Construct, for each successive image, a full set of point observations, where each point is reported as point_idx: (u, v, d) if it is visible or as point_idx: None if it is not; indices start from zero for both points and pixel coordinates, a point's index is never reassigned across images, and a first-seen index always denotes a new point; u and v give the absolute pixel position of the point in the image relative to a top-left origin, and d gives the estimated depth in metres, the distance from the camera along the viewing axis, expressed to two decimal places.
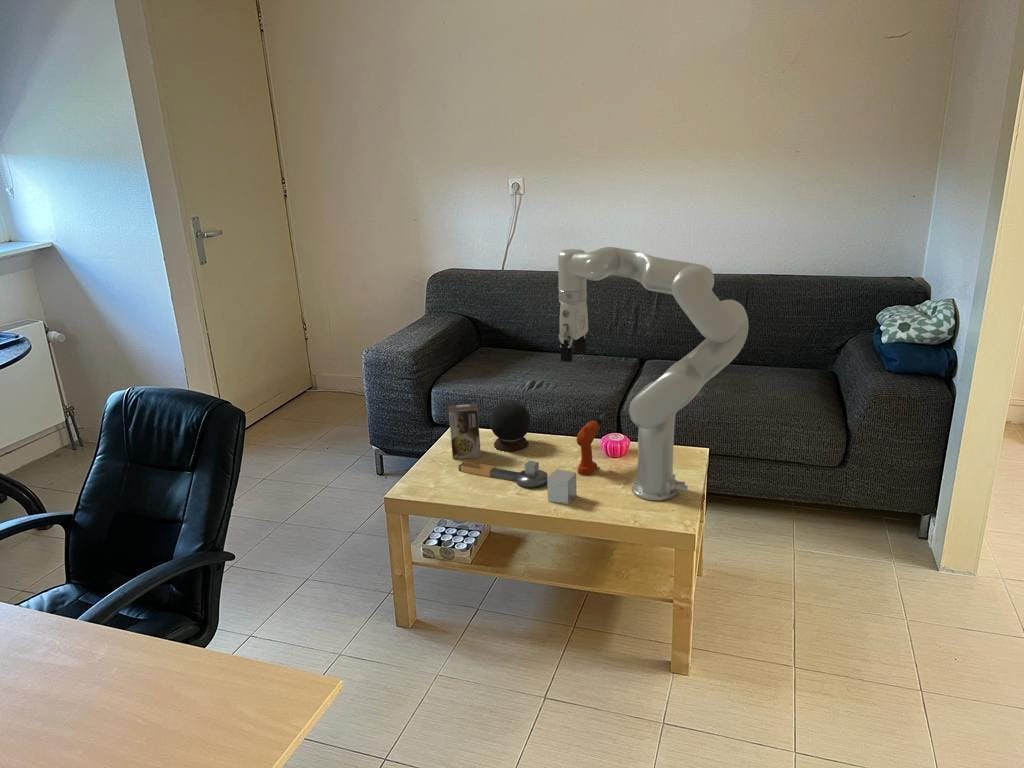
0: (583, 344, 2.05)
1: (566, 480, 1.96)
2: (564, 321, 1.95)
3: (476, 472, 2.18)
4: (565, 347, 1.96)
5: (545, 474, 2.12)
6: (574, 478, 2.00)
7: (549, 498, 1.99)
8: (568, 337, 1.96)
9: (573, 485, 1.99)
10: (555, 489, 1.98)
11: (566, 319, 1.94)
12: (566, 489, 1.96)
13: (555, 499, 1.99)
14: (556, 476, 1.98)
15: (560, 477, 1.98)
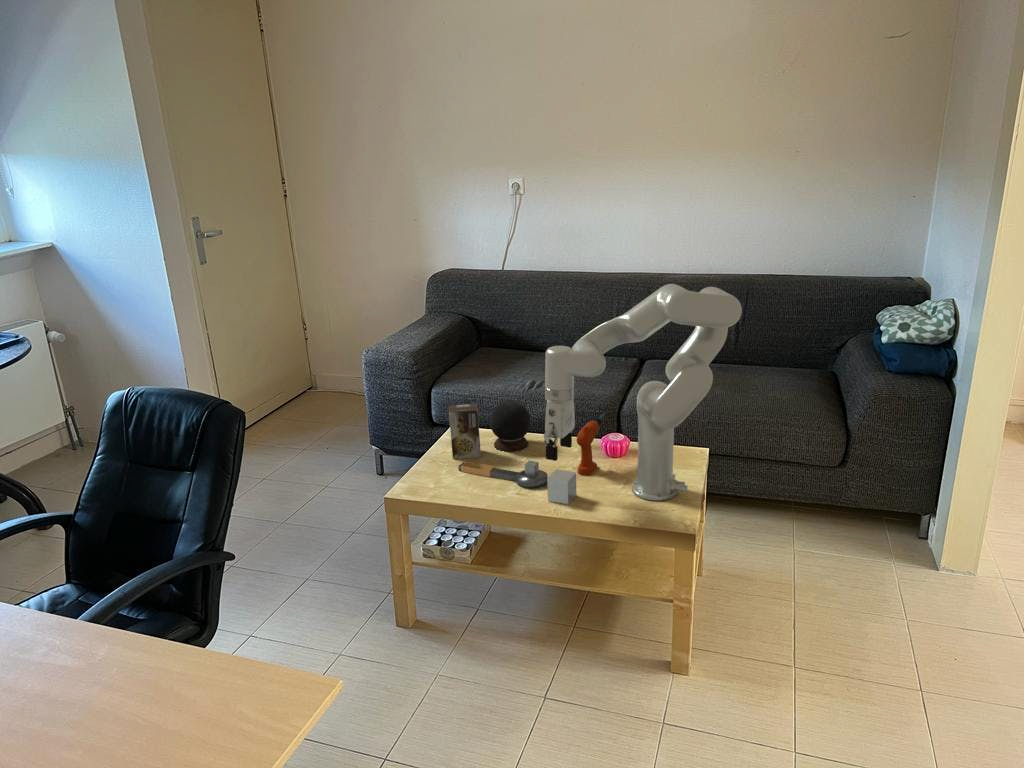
0: (569, 439, 1.99)
1: (566, 480, 1.96)
2: (550, 420, 1.89)
3: (476, 472, 2.18)
4: (550, 446, 1.90)
5: (545, 474, 2.12)
6: (574, 478, 2.00)
7: (549, 498, 1.99)
8: (554, 436, 1.91)
9: (573, 485, 1.99)
10: (555, 489, 1.98)
11: (552, 418, 1.89)
12: (566, 489, 1.96)
13: (555, 499, 1.99)
14: (556, 476, 1.98)
15: (560, 477, 1.98)
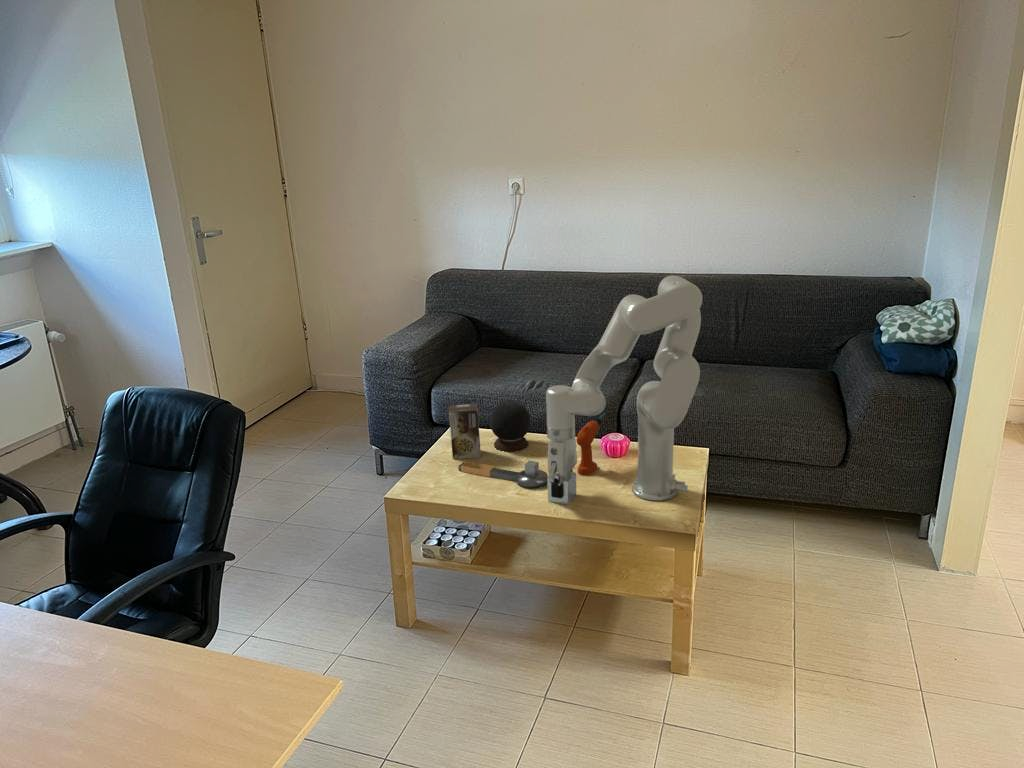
0: None
1: (566, 480, 1.96)
2: (552, 459, 1.93)
3: (476, 472, 2.18)
4: (556, 485, 1.95)
5: (545, 474, 2.12)
6: (574, 478, 1.99)
7: (549, 498, 1.99)
8: (557, 475, 1.95)
9: (573, 485, 1.99)
10: None
11: (554, 457, 1.92)
12: (566, 489, 1.96)
13: (555, 499, 1.99)
14: (556, 476, 1.98)
15: None
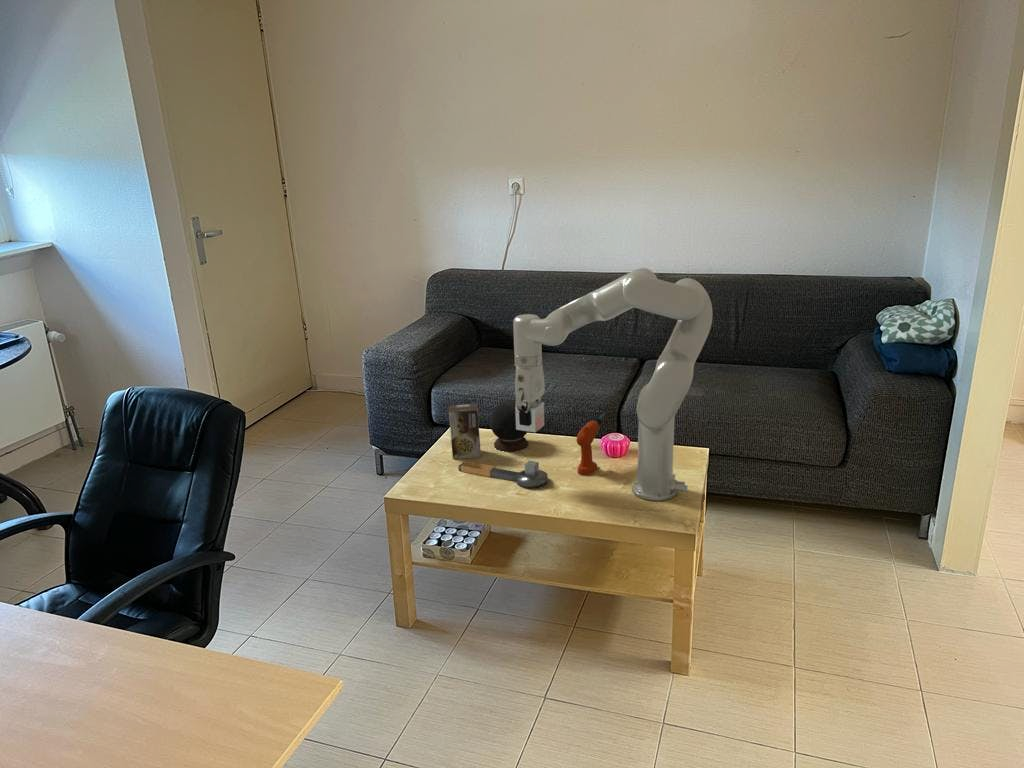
0: None
1: (533, 408, 2.01)
2: (519, 385, 1.98)
3: (476, 472, 2.18)
4: (523, 412, 2.00)
5: (545, 474, 2.12)
6: (542, 407, 2.04)
7: (517, 426, 2.04)
8: (525, 402, 2.00)
9: (541, 414, 2.04)
10: None
11: (521, 383, 1.97)
12: (533, 416, 2.01)
13: (523, 427, 2.04)
14: (524, 405, 2.03)
15: None
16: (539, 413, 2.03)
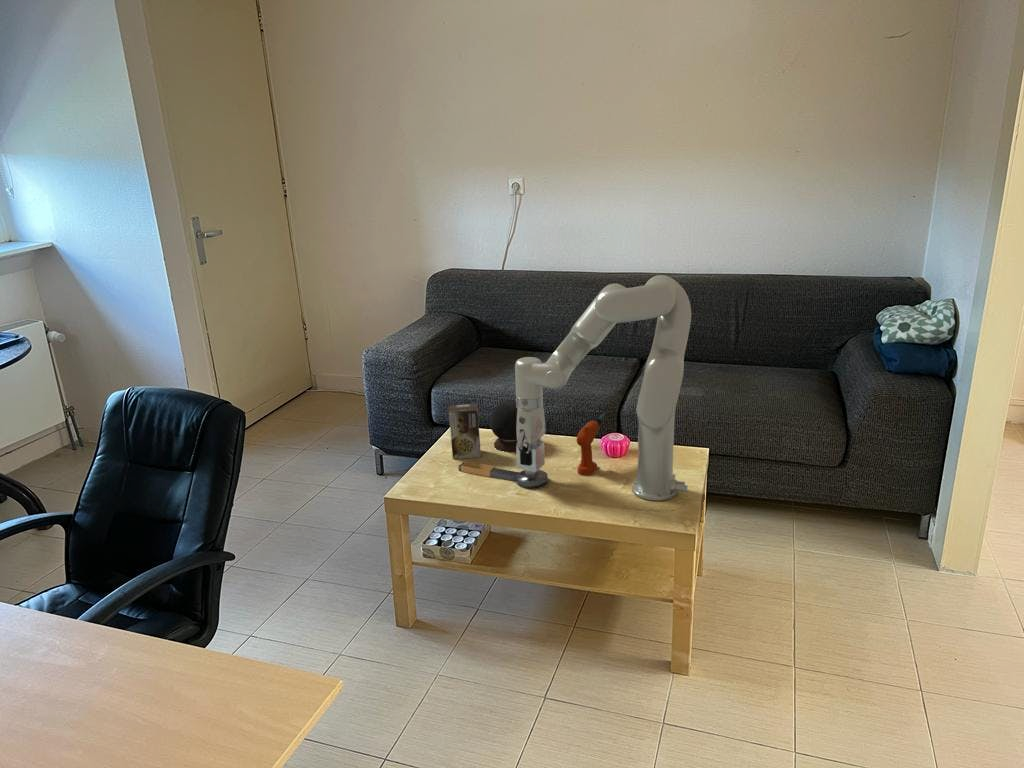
0: None
1: (534, 448, 2.05)
2: (520, 427, 2.02)
3: (476, 472, 2.18)
4: (524, 453, 2.04)
5: (545, 474, 2.12)
6: (542, 447, 2.08)
7: (518, 466, 2.08)
8: (526, 443, 2.04)
9: (541, 453, 2.08)
10: None
11: (522, 425, 2.01)
12: (534, 457, 2.05)
13: (524, 467, 2.07)
14: (525, 444, 2.07)
15: None
16: (540, 453, 2.07)
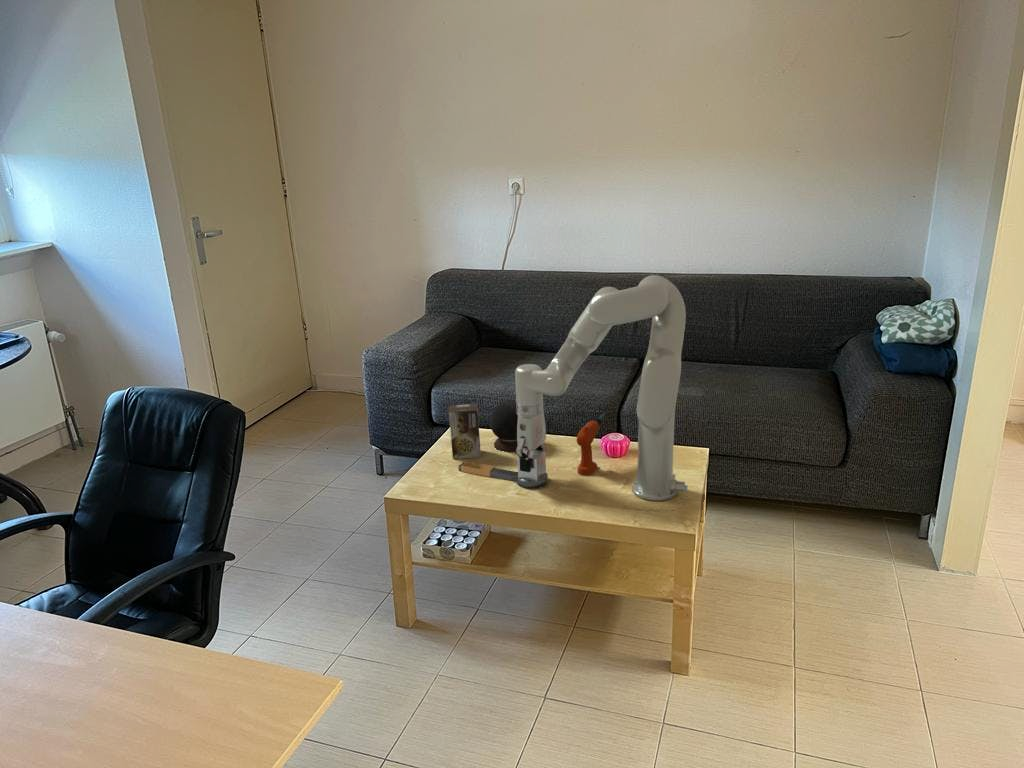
0: None
1: (535, 458, 2.06)
2: (521, 434, 2.02)
3: (476, 472, 2.18)
4: (523, 459, 2.04)
5: (545, 474, 2.12)
6: (543, 456, 2.09)
7: (519, 475, 2.09)
8: (526, 449, 2.04)
9: (542, 463, 2.09)
10: None
11: (523, 432, 2.02)
12: (535, 466, 2.06)
13: (525, 476, 2.08)
14: None
15: (530, 455, 2.07)
16: (541, 462, 2.08)
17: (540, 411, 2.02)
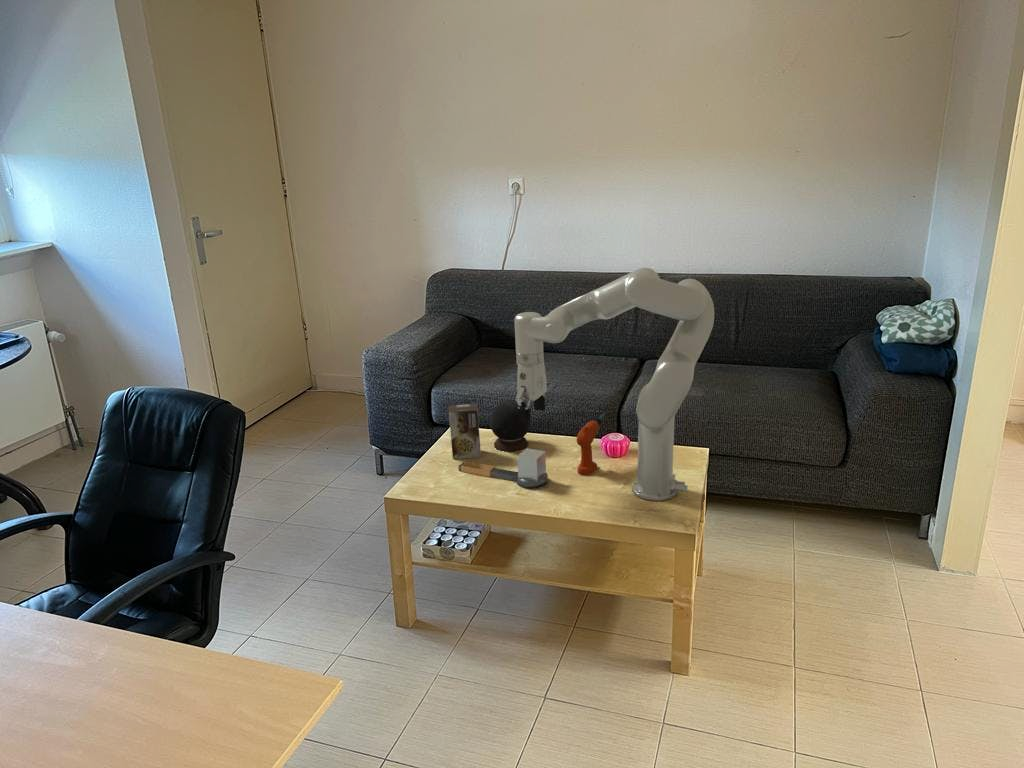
0: (542, 403, 2.08)
1: (535, 458, 2.06)
2: (521, 383, 1.98)
3: (476, 472, 2.18)
4: (523, 408, 1.99)
5: (545, 474, 2.12)
6: (543, 456, 2.09)
7: (519, 475, 2.09)
8: (526, 398, 1.99)
9: (542, 463, 2.09)
10: (525, 467, 2.07)
11: (523, 381, 1.97)
12: (535, 466, 2.06)
13: (525, 476, 2.08)
14: (526, 454, 2.08)
15: (530, 455, 2.07)
16: (541, 462, 2.08)
17: (540, 360, 1.98)
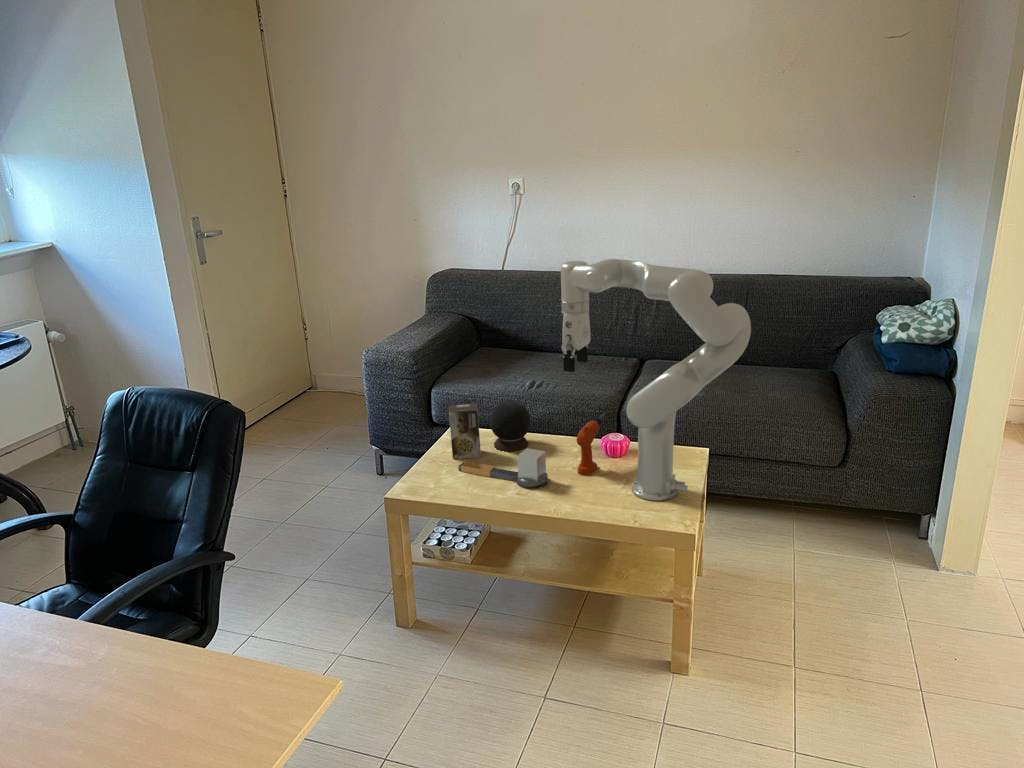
0: (585, 354, 2.08)
1: (535, 458, 2.06)
2: (567, 332, 1.98)
3: (476, 472, 2.18)
4: (568, 357, 1.98)
5: (545, 474, 2.12)
6: (543, 456, 2.09)
7: (519, 475, 2.09)
8: (571, 347, 1.99)
9: (542, 463, 2.09)
10: (525, 467, 2.07)
11: (569, 330, 1.97)
12: (535, 466, 2.06)
13: (525, 476, 2.08)
14: (526, 454, 2.08)
15: (530, 455, 2.07)
16: (541, 462, 2.08)
17: (586, 309, 1.98)
